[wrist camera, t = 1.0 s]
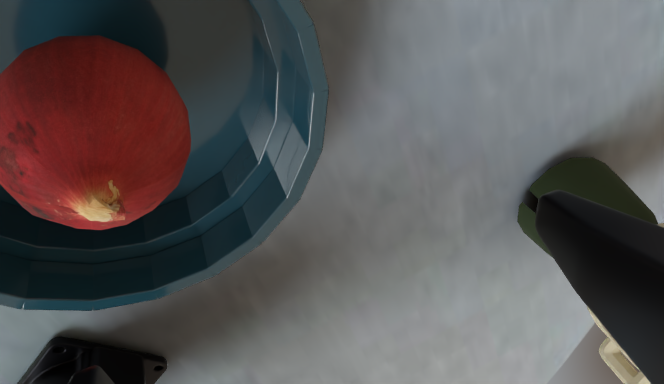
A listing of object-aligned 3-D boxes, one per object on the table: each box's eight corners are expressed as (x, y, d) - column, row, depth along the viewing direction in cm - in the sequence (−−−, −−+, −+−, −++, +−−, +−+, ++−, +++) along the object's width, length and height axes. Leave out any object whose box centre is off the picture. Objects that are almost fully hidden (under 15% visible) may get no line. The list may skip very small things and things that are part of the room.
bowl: (166, 271, 26) (176, 344, 23) (-254, 142, 17) (-339, 231, 14) (363, 26, 22) (411, 72, 18) (-58, -332, 13) (-114, -369, 9)
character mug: (559, 109, 29) (790, 277, 19) (642, 122, 32) (877, 272, 22) (474, 256, 34) (620, 443, 25) (552, 255, 37) (708, 421, 28)
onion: (68, 171, 21) (57, 329, 15) (-42, 45, 17) (-116, 191, 11) (202, 110, 21) (242, 240, 15) (124, -27, 17) (138, 76, 11)
